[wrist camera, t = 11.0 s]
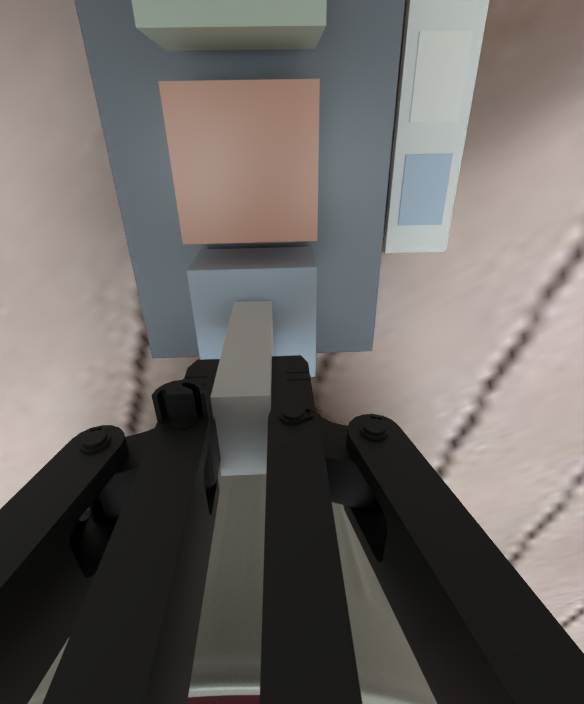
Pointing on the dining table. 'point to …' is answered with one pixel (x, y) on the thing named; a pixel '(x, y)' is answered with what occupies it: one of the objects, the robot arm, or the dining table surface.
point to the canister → (246, 612)
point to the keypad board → (333, 167)
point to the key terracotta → (244, 158)
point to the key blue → (256, 296)
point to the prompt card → (431, 120)
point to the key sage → (231, 24)
